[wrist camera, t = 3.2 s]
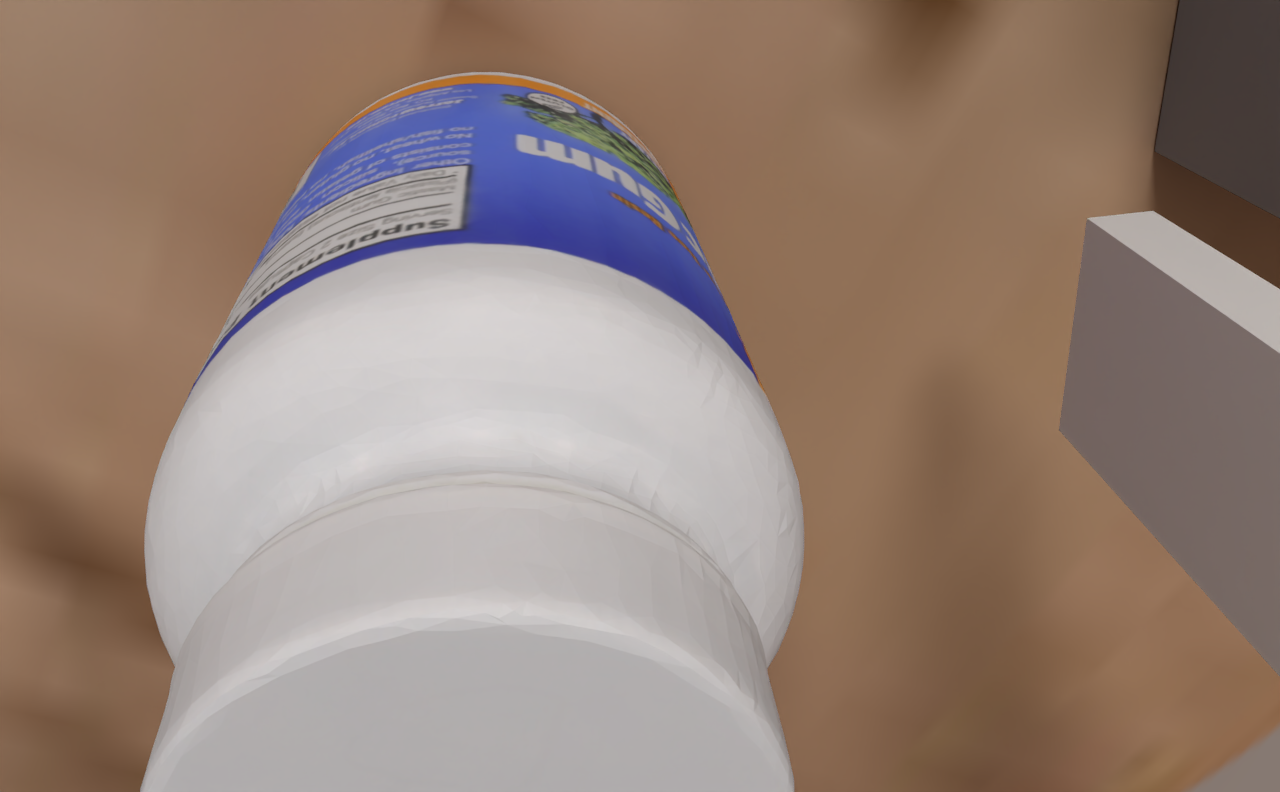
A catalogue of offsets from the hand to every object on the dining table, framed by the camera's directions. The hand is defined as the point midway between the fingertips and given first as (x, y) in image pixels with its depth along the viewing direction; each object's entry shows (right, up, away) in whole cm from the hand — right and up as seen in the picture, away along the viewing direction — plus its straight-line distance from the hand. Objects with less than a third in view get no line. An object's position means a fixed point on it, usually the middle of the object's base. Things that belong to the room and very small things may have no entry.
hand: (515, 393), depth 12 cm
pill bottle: (-1, +2, +3) cm, 4 cm away
